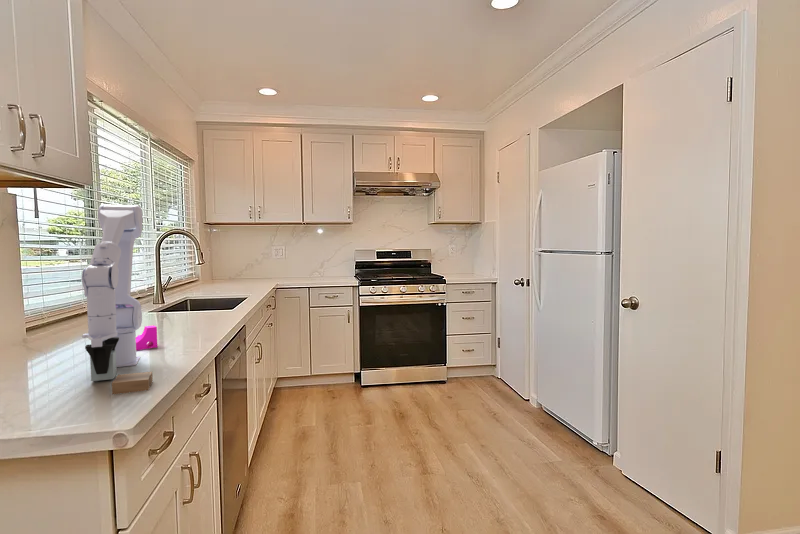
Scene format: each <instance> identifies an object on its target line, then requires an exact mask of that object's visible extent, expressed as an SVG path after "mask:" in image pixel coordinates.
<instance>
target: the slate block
mask: <svg viewBox="0 0 800 534" xmlns="http://www.w3.org/2000/svg"><path fill="white" fill-rule="evenodd" d="M89 358H90V359H89V360H90V361H89V362H90V382H98V381H107V380H115V378H116V377H117V367H116V350H112V351H111V354H110V359H109V367H108V371H107V373H106V374H96V372H95V368H94V365H93V362H92V359H91V357H90V356H89Z"/></svg>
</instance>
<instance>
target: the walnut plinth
mask: <svg viewBox="0 0 800 534" xmlns="http://www.w3.org/2000/svg"><path fill="white" fill-rule="evenodd" d="M153 377H154V376H153V371H146V372H145V371H143V372H142V371H141V372H134V373H124V374H123V373H122V374H118V375H116V376H115V377H114V379H113V381H112V382H111V393H112V394H114V395H121V394H120V393H122V394H127V393H128V394H129V392H130V393H135V392H136V393H137V392H143V391H145V390H146V391H149V390H150V388H151V386H152V384H151V383H153V382H154V381H153V380H154V379H153ZM152 381H153V382H152Z"/></svg>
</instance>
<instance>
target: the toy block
mask: <svg viewBox="0 0 800 534" xmlns="http://www.w3.org/2000/svg"><path fill="white" fill-rule="evenodd" d="M154 348H158V327H157V326H156V325H146V326H145V325H144V329H143V331H142V333H141V334H138V335H136V351H141V350H142V351H143V350H147V349H154Z"/></svg>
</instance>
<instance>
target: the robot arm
mask: <svg viewBox="0 0 800 534" xmlns="http://www.w3.org/2000/svg"><path fill="white" fill-rule="evenodd" d="M97 219H98V223H99V224H100V228H101V231H102V236H101V242H98V243H97V244H96V245H95V246H94V249H93V252H92V255H91V259H90V261H89V264H88V266H87V267H84V268H83V270H82V272H81V284H82V287H83V291H84V297H85V298H86V304H87V305H86V306H87V308H86V309H87V311H86V313H87V333H83V334H82V336H81V337H82V338H83V339H88V340H90V343H91V344H85V347H84V348H85V350H86V353H88V355H89V358H90V357H91V359H92V362H93V365H94V368H95V372H96V374H106V373H107V371H108V367H109V359H110V354H111V351H112V350H116V368H122V367H123V368H124V367H131V366H137V364H138V362H139V361H140V359H141V356H140V355H139V356H138V355H137V350H136V337H137V335H136V332H137V330H139V329H140V328H141V326H142V323H143V313H142V304H141V302H140V301H139V300H138V299H137V298H135V297H133V296H132V295H131V291H132V273H133V272H132V271H133V255H134V245H135V242H136V241H135V240H136V239H138V238H140V237H141V236H142V232H143V220H144V219H143V210H142V207H141V206H140V205H138V204H134V205H132V204H131V205H130V204H105V203H101V204H100V205H99V206H98V208H97Z"/></svg>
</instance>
